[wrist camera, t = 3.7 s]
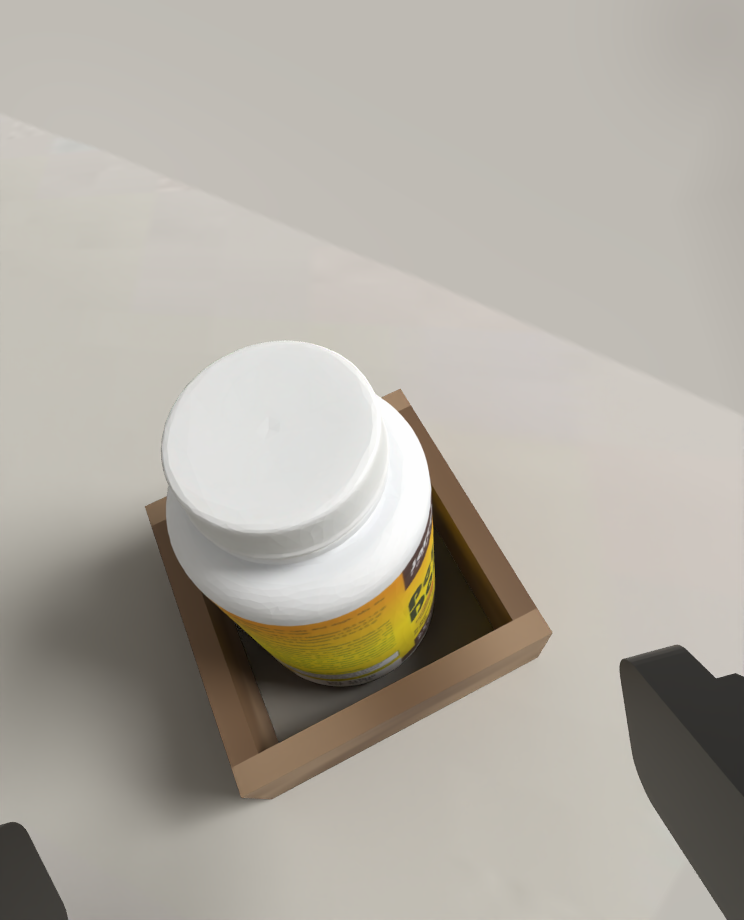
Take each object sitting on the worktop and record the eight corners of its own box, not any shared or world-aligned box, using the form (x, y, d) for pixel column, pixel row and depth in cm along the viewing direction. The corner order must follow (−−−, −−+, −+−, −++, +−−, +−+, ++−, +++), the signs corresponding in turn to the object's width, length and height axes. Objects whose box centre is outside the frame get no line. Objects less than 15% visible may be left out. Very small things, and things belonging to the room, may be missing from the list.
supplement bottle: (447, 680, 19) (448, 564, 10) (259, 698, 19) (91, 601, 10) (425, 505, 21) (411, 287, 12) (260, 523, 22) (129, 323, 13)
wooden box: (271, 798, 18) (241, 797, 15) (181, 543, 22) (145, 506, 19) (537, 657, 19) (552, 632, 16) (406, 437, 23) (400, 388, 20)
